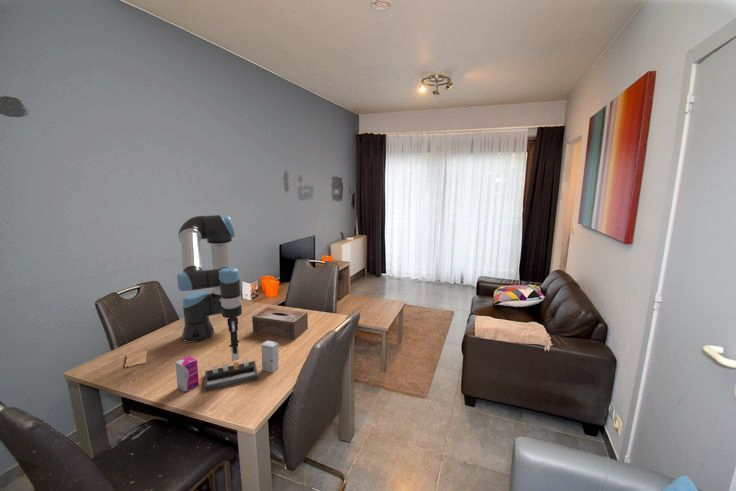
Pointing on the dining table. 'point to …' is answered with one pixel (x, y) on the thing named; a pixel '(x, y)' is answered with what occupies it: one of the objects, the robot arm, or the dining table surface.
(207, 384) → the breaker panel
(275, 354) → the skincare box
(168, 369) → the dining table surface
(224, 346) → the dining table surface
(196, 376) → the supplement box
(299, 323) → the tissue box cover
